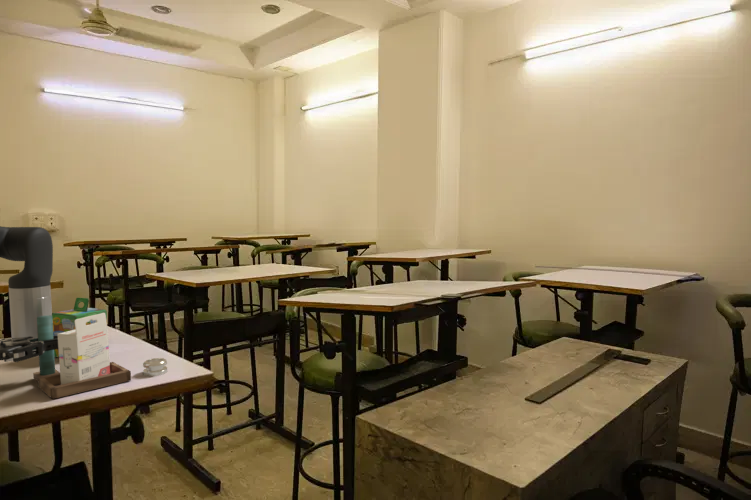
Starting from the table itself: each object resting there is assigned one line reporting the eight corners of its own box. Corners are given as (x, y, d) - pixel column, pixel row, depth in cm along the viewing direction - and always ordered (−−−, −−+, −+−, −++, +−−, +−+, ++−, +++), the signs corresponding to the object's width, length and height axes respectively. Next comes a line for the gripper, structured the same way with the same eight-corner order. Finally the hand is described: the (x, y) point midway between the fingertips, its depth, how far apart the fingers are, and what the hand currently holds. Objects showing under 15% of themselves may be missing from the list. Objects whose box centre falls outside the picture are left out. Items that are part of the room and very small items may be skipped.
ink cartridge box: (92, 376, 108) (89, 311, 108) (111, 378, 107) (108, 311, 106) (59, 389, 100) (55, 318, 99) (79, 391, 99) (75, 319, 98)
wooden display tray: (29, 379, 107) (25, 316, 106) (101, 363, 118) (99, 307, 117) (52, 399, 95) (48, 329, 94) (131, 380, 105) (128, 317, 104)
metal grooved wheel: (160, 368, 115) (139, 373, 111) (160, 356, 114) (138, 360, 111) (171, 372, 111) (149, 378, 108) (170, 359, 111) (149, 365, 107)
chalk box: (52, 357, 124) (48, 300, 123) (85, 348, 133) (82, 294, 132) (77, 361, 121) (74, 302, 120) (109, 351, 129) (107, 296, 128)
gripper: (-35, 345, 91) (70, 329, 104) (-46, 333, 100) (51, 320, 113) (-33, 384, 91) (72, 363, 104) (-44, 369, 101) (53, 352, 114)
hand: (60, 341), depth 108 cm, fingers closed on wooden display tray, 3 cm apart
